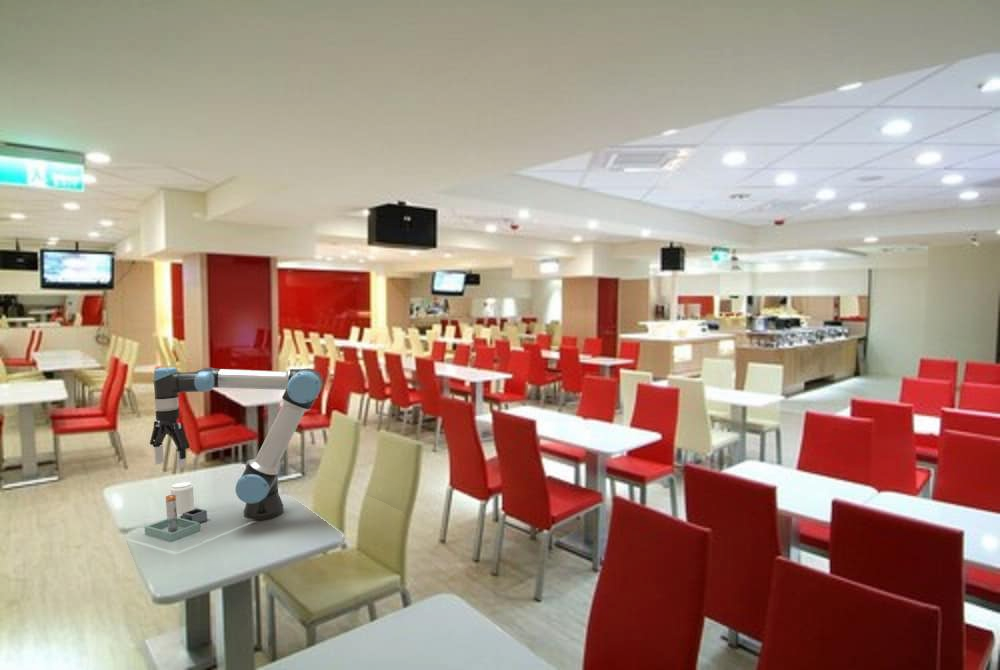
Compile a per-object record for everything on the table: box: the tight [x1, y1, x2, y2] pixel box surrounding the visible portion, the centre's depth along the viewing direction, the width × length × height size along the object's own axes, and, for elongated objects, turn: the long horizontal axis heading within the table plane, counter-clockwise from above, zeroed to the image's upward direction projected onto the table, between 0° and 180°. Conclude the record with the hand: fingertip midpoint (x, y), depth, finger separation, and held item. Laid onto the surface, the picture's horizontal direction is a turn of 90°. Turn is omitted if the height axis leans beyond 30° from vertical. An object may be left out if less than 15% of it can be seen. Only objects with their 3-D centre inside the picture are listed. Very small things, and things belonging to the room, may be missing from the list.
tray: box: [144, 516, 201, 542], centre depth 202 cm, size 16×11×4 cm
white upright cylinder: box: [170, 481, 195, 515], centre depth 225 cm, size 8×8×12 cm
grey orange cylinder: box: [165, 494, 179, 533], centre depth 202 cm, size 3×3×14 cm
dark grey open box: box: [179, 507, 211, 525], centre depth 213 cm, size 12×8×5 cm, turn 63°
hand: (170, 465), depth 201 cm, fingers open, 13 cm apart
